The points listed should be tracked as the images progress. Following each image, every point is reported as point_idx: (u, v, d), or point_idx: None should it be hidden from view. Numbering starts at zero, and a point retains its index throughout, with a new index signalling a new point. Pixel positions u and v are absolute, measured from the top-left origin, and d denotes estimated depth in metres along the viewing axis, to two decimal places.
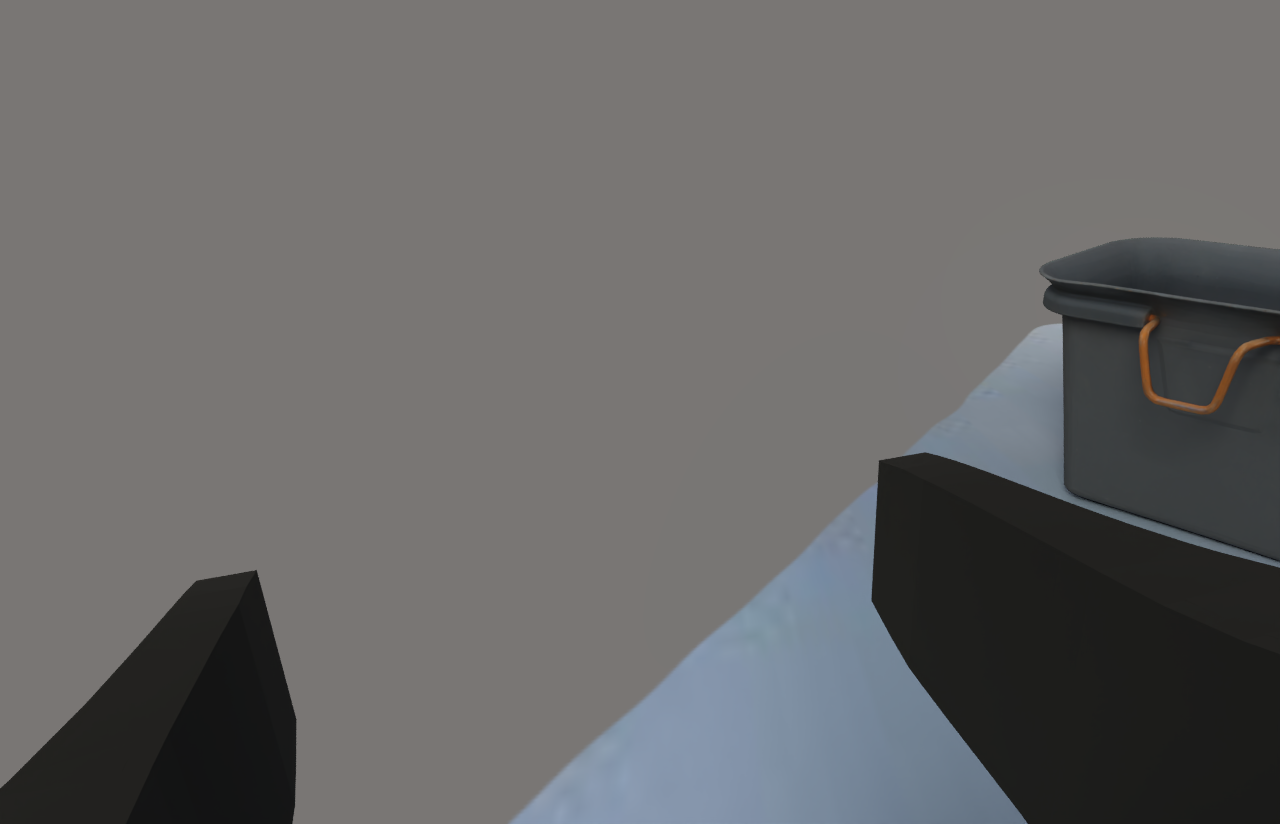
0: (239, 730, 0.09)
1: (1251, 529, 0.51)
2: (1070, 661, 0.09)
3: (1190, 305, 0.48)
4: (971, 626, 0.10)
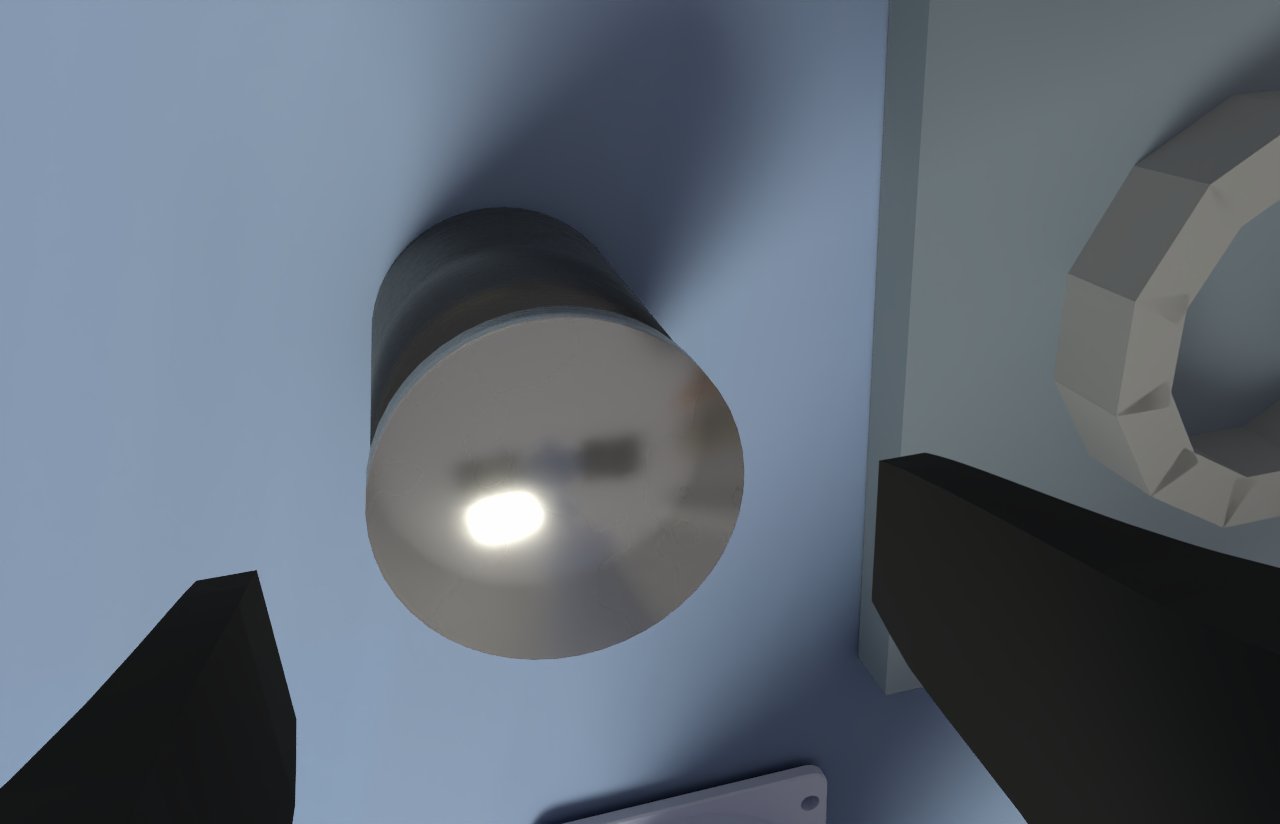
0: (239, 730, 0.09)
1: None
2: (1070, 661, 0.09)
3: None
4: (970, 626, 0.10)
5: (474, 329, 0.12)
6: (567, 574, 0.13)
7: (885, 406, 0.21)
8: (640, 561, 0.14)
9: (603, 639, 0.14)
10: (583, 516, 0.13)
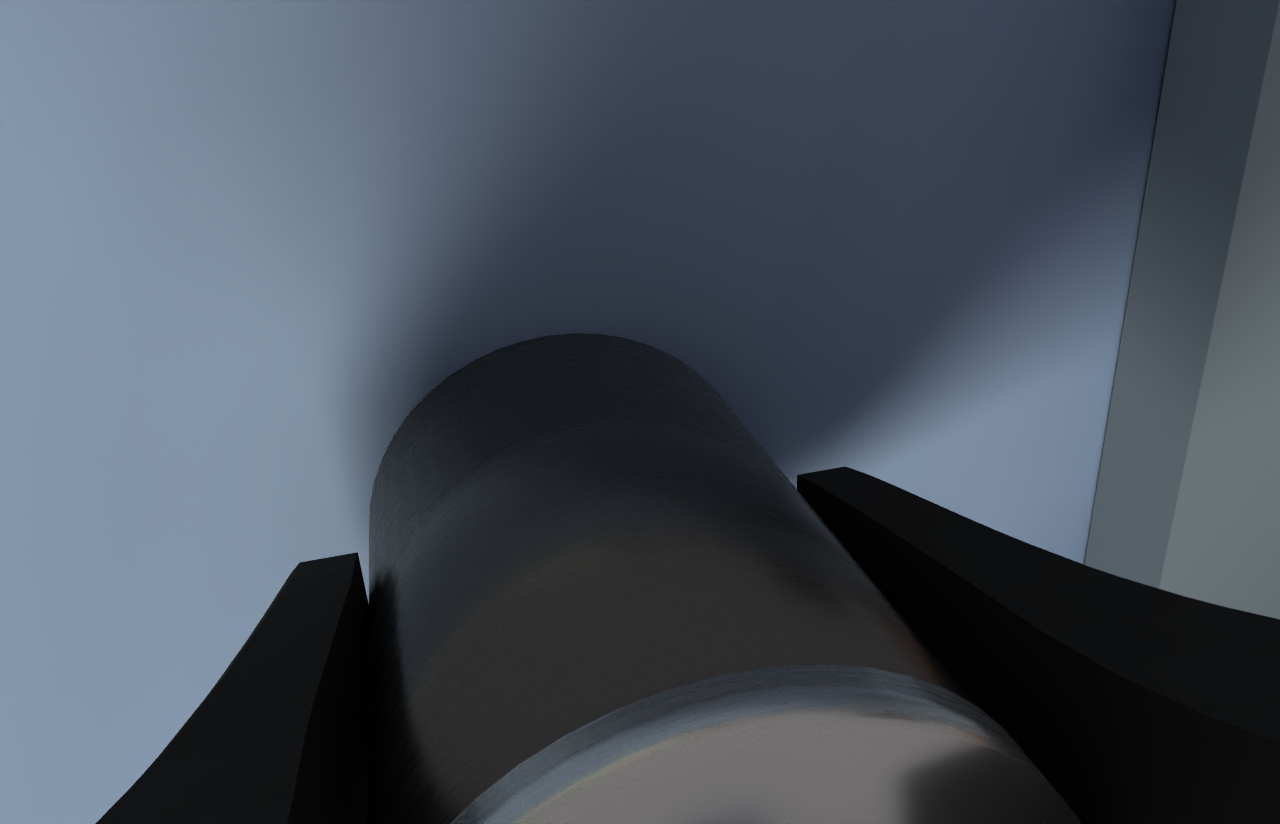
0: (357, 705, 0.09)
1: None
2: (966, 685, 0.08)
3: None
4: None
5: (587, 728, 0.06)
6: None
7: None
8: None
9: None
10: None
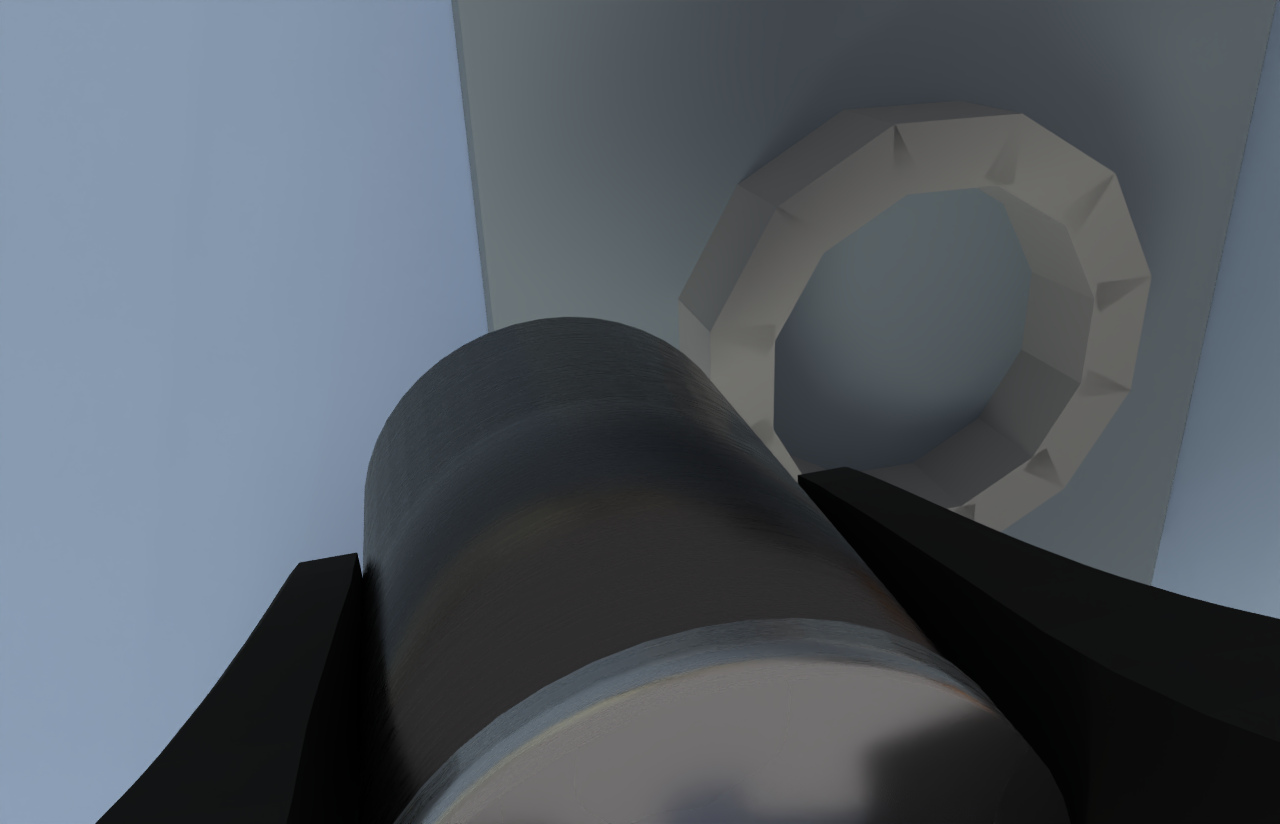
0: (356, 706, 0.09)
1: None
2: None
3: None
4: None
5: (566, 680, 0.06)
6: None
7: None
8: None
9: None
10: None
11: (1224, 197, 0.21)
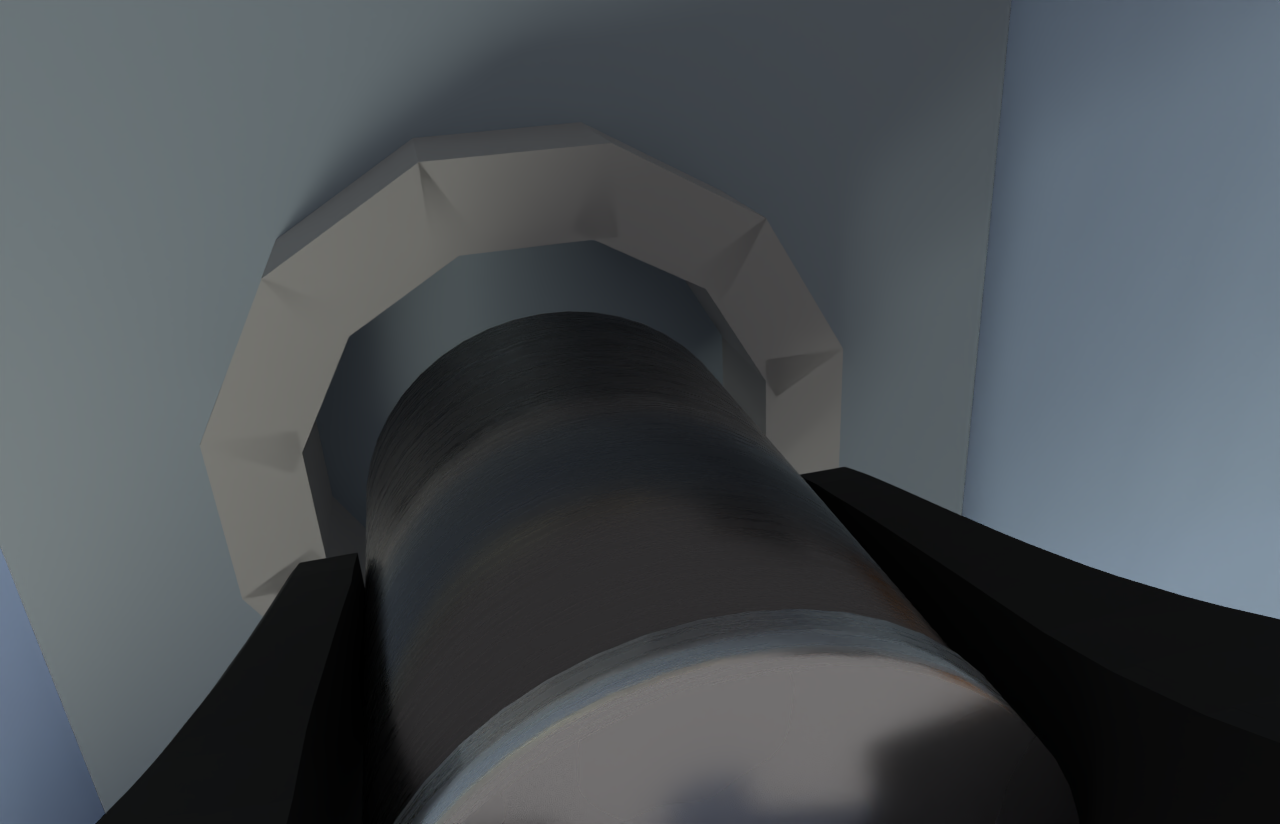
0: (356, 706, 0.09)
1: None
2: None
3: None
4: None
5: (567, 673, 0.06)
6: None
7: None
8: None
9: None
10: None
11: (975, 235, 0.16)
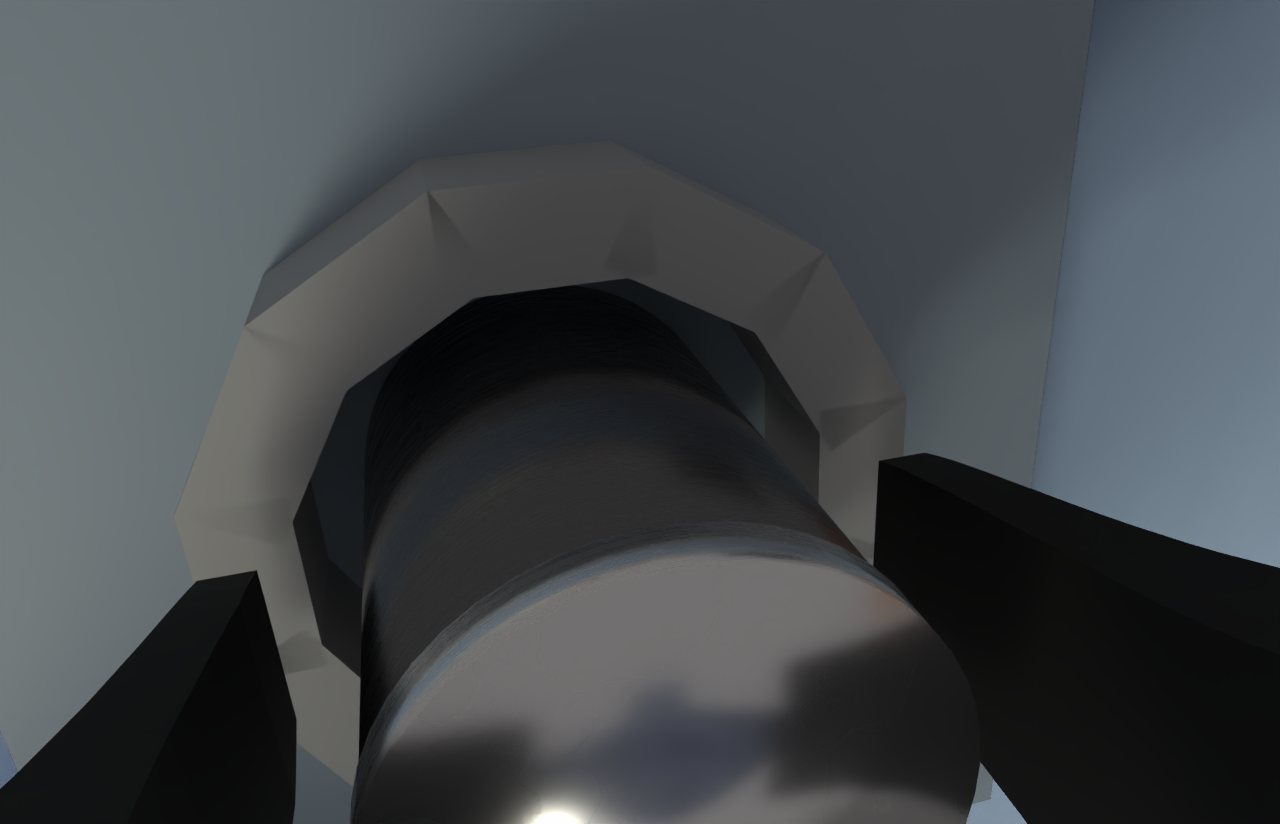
0: (240, 730, 0.09)
1: None
2: (1069, 661, 0.09)
3: None
4: (970, 626, 0.10)
5: (533, 571, 0.07)
6: None
7: None
8: None
9: None
10: None
11: (1045, 263, 0.15)
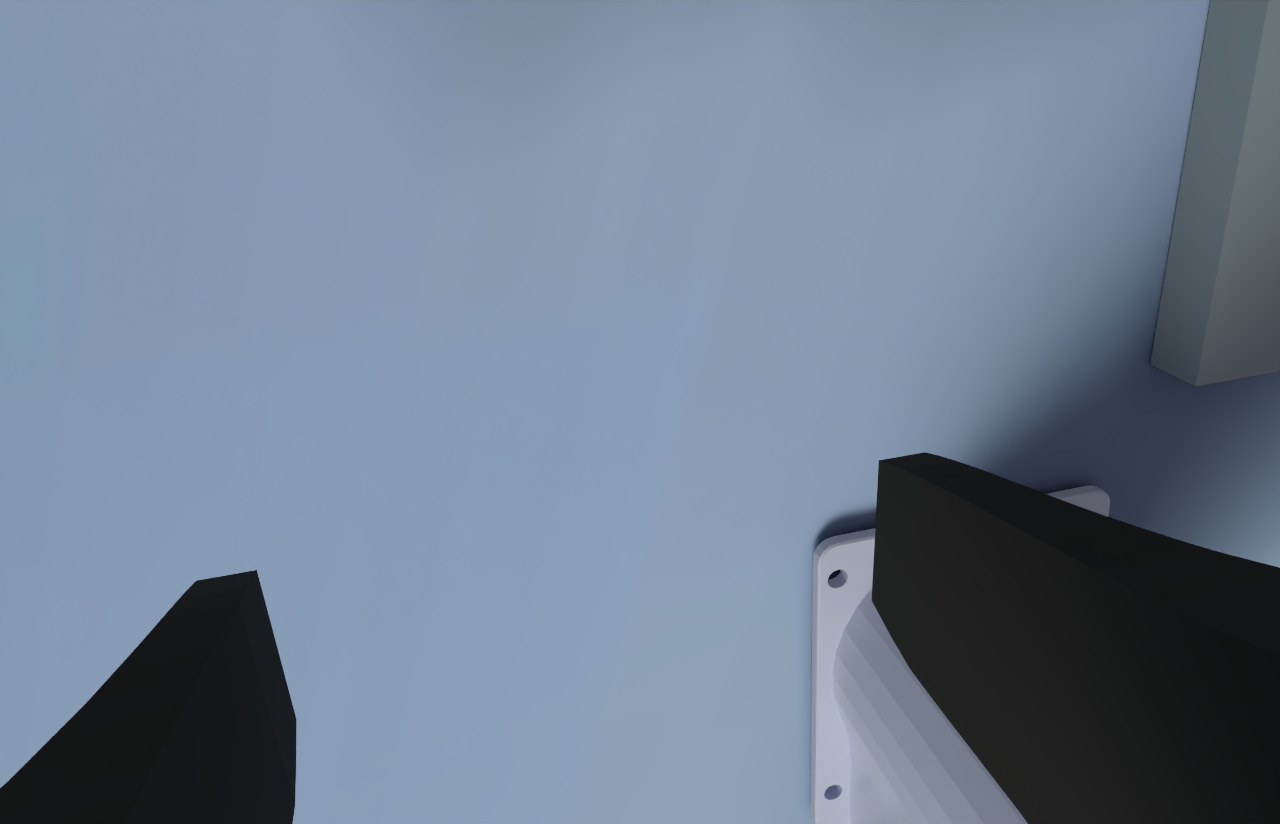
0: (239, 730, 0.09)
1: None
2: (1070, 661, 0.09)
3: None
4: (970, 626, 0.10)
5: None
6: None
7: (1229, 47, 0.20)
8: None
9: None
10: None
11: None
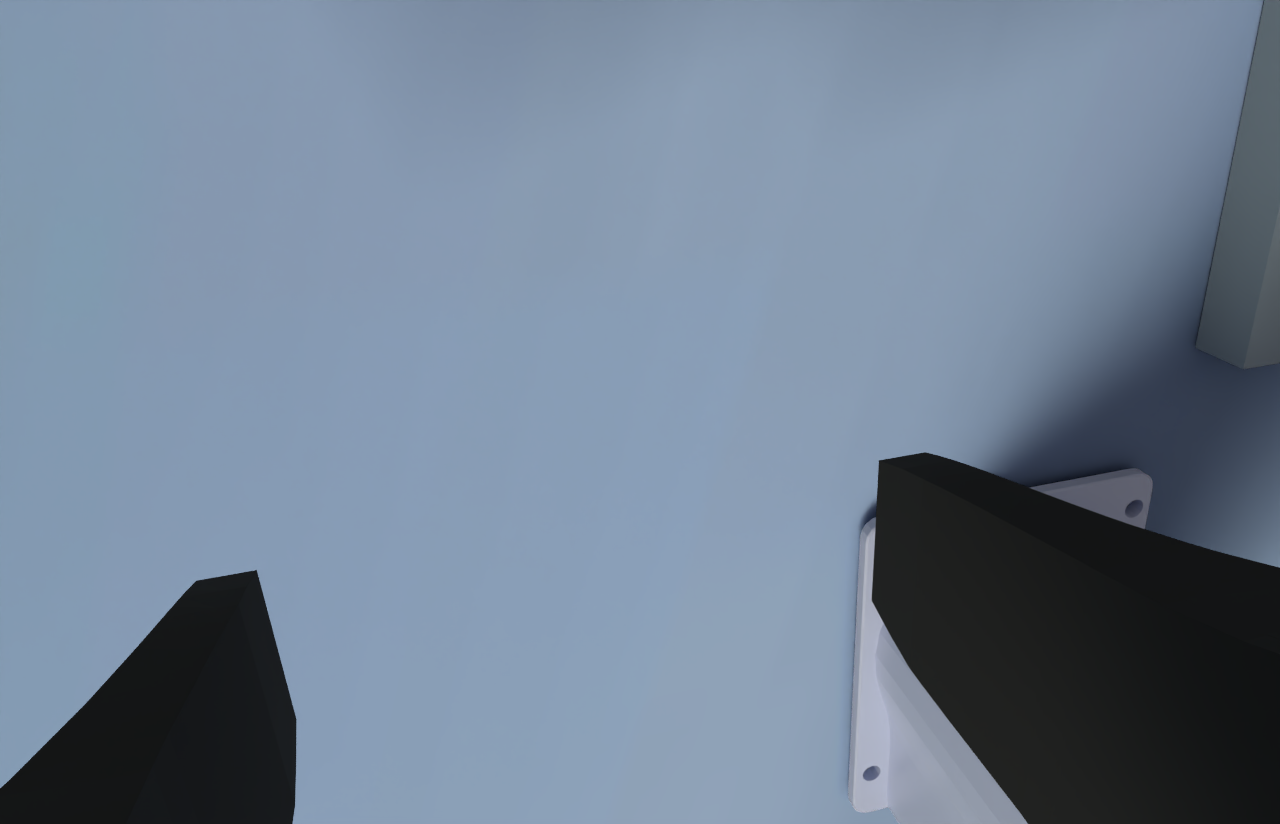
0: (239, 730, 0.09)
1: None
2: (1070, 661, 0.09)
3: None
4: (970, 626, 0.10)
5: None
6: None
7: None
8: None
9: None
10: None
11: None
